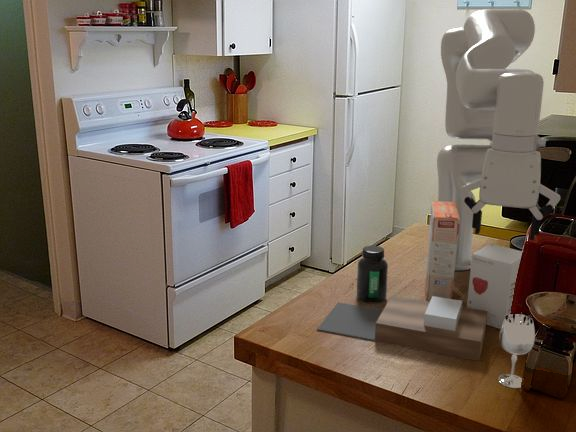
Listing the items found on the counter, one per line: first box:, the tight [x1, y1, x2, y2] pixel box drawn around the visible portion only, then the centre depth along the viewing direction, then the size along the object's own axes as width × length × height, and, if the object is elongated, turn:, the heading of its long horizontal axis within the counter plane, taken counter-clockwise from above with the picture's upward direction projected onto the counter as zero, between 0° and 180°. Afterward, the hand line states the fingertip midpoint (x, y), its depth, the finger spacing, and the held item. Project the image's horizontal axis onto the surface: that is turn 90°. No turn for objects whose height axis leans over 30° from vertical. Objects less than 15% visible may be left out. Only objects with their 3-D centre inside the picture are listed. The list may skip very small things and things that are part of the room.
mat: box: [316, 301, 384, 342], centre depth 130 cm, size 14×12×1 cm
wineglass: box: [497, 313, 536, 389], centre depth 106 cm, size 6×6×12 cm
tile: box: [424, 296, 463, 331], centre depth 122 cm, size 9×6×2 cm, turn 158°
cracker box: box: [424, 200, 460, 302], centre depth 141 cm, size 14×6×21 cm, turn 168°
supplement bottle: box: [356, 245, 389, 304], centre depth 140 cm, size 7×7×12 cm
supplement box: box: [466, 243, 523, 330], centre depth 130 cm, size 9×9×15 cm
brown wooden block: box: [374, 295, 488, 362], centre depth 124 cm, size 14×20×4 cm
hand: (504, 235), depth 113 cm, fingers open, 9 cm apart
